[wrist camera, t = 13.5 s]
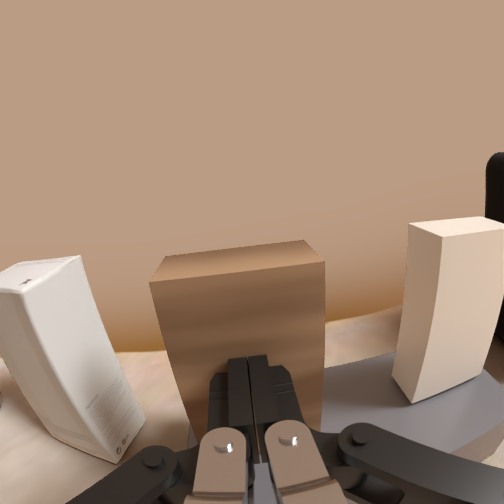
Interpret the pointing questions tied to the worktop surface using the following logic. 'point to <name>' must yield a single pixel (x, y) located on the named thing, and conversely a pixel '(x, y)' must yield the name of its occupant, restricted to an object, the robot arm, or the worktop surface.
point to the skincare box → (66, 357)
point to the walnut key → (243, 319)
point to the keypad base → (404, 413)
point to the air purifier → (496, 208)
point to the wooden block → (448, 303)
